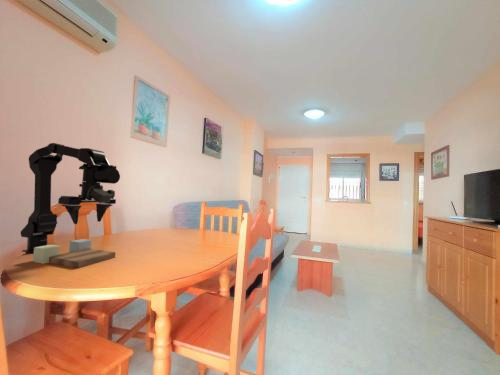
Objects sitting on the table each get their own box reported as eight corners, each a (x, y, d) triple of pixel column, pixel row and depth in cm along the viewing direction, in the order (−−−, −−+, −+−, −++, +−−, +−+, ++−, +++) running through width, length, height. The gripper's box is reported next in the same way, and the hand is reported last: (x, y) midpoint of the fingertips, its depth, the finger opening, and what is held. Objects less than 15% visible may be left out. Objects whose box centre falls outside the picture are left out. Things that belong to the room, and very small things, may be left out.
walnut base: (49, 262, 79) (49, 256, 79) (87, 253, 93) (88, 248, 93) (78, 268, 75) (79, 262, 75) (115, 257, 89) (115, 252, 89)
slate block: (69, 253, 91) (69, 241, 91) (81, 250, 96) (82, 239, 96) (78, 255, 90) (79, 242, 90) (90, 252, 94) (91, 240, 95)
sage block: (32, 261, 80) (34, 247, 80) (49, 258, 84) (50, 244, 85) (42, 263, 78) (44, 249, 78) (58, 260, 83) (59, 246, 83)
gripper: (82, 181, 77) (78, 228, 76) (127, 184, 94) (124, 222, 94) (59, 179, 80) (55, 224, 79) (107, 183, 98) (103, 219, 97)
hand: (87, 222), depth 87 cm, fingers open, 9 cm apart
